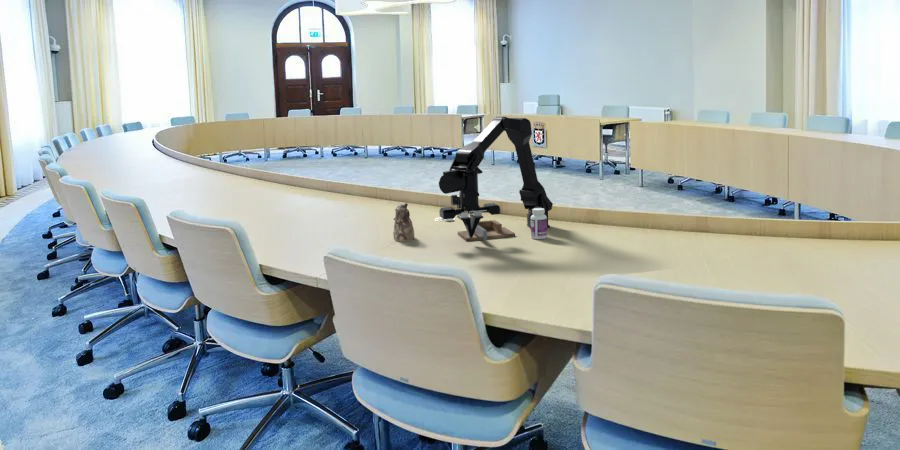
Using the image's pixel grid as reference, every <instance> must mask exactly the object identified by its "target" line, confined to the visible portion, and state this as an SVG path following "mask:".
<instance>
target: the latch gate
mask: <svg viewBox="0 0 900 450" xmlns="http://www.w3.org/2000/svg"><path fill="white" fill-rule="evenodd" d="M475 235H477V236H478V237H480V238H481V239H482V241H487V240H488V239H487V231H486V230H485V229H484V228H482V227H481V226H480V225H477V227H476V230H475Z"/></svg>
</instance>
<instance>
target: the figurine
mask: <svg viewBox="0 0 900 450" xmlns="http://www.w3.org/2000/svg"><path fill="white" fill-rule="evenodd" d="M408 205H409V204H408V203H407V202H405V203H404V204H402V203H400V204H398V205H397V207H395V209H394V210H395V217H394V218H393V221H394V225H393V232H392V233H393V240H395V242H410V241H413V240H414V239H415V228H414V225H413V221H412V219H411V218H410V211H409V209H408Z"/></svg>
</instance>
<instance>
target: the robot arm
mask: <svg viewBox="0 0 900 450" xmlns="http://www.w3.org/2000/svg"><path fill="white" fill-rule="evenodd" d="M503 132H505V133H506V136H507V138H508V140H509V141H510V142H511V143H512V144H513V145H514V148H515V153H516V157H517V161H518V165H519V170H520V173H521V178H522V182H523V185H522V188H521V189H519V191H518V193H519V195H520V201H521V202H522V204H523V208H524V209H525V210H528V213H526V215H527V216H526V219H527V220H526V226H527V227H529V228H531V220H530V218H531V216H532V215H533V213H532V209H534V208H544V209H545V213H544V215H546V216H547V228H551V225H550V224H549V212H550V211H552V209H553V201H551V200H550V199H549V197H548V196H547V192H546V189H545V187H544V186H543V185H542V184H541V182H540V181H539V179H538V175H537V172H536V166H535V163H534V158H533V153H532V148H531V144H530V141H531V138H532V134H533V131H532V123H531V121H530V120H529V119H528V118H525V117H507V116H495V117H493V118H492V120H491V122H490V123H489V124H488V125H487V126H486V127H485V128H484V129H483V131H482V132H481V133H480V134H479V135H478V136H477V137H476V138H475V139H474V140H473V141H472V142H471V143H468V144H466V145H464V146H462V147H461V148H459V149H458V150H457V151H456V153H455V157H454V159H453V161H452V163H451V165H450V167H449V170H444V171H442V175H441V177H440V178H439V181H438V188H439V189H440V191H441V192H442V193H443V194H445V195H446V194H451V193H457V192H459V194H458V195H459V196H458V195H457V194H453V195H452V194H451V195H450V205H451V206H444V207H441V208H440V209H439V211H438V213H439V218H440V217H441V218H443V219H453V218H455V217H457V219H459V220H461V221H462V222H463V225H464V226H465V227H464V228H465V229H466V230H465V231H467V232H468V235H469V237H470V238H472V237H473V235H474V232H475V230H476V227H477V225H478V223H479V221H481V219H484V216H483V213H489V214H490V215H492V216H494V215H501V206H500V205H499V204H497V203H495V202H490V203H483V205H482V206H480V204H479V202H480V201H479V197H480V193H479V177H478V175H480V174H481V175H482V174H483V170H482V169H480V168H479V166H480V165H481V163H482V162H483V160H484V157H485V153H486V152H487V150H488V149H489V148H490V146H492V144H494V142H495V141H496V140H497V139H498V138H499V137H500V136H501V135H502V133H503ZM452 206H453V207H452ZM454 206H456V209H455V208H454ZM441 218H440V219H441Z"/></svg>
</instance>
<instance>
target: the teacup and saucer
mask: <svg viewBox="0 0 900 450" xmlns="http://www.w3.org/2000/svg"><path fill="white" fill-rule="evenodd" d="M439 218H440V220H441V221H444V222H450V221H451V222H452V221H455V220H456V218H455V217H454V218H453V219H443V218H441V217H440V216H439V217H435V218H434V221H436V222H439V221H438V220H439ZM436 219H437V220H436Z"/></svg>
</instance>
